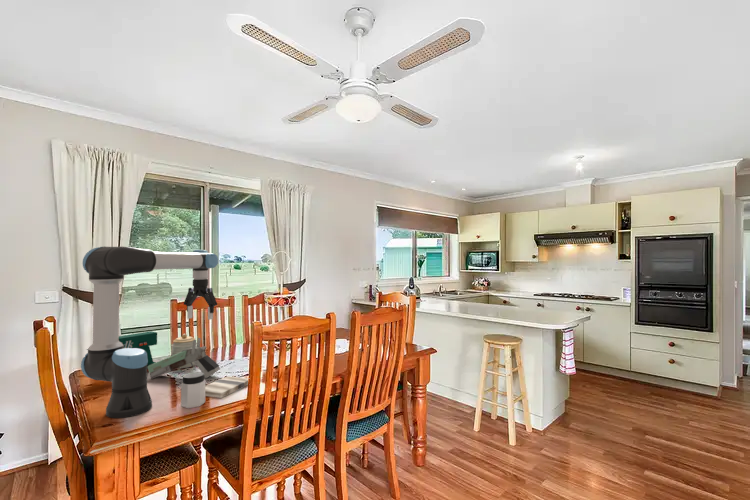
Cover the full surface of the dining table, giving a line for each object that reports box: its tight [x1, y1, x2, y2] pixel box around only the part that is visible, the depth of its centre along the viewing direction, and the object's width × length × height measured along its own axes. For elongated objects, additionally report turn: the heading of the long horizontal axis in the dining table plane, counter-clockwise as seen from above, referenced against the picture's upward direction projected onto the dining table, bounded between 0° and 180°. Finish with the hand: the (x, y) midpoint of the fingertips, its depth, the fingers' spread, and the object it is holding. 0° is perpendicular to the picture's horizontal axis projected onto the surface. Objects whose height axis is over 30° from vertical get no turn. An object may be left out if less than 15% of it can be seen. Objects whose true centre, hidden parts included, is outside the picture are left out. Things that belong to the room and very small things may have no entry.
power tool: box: [86, 330, 158, 373], centre depth 189 cm, size 32×7×20 cm, turn 148°
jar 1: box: [170, 333, 197, 369], centre depth 208 cm, size 13×13×18 cm
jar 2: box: [180, 371, 206, 409], centre depth 152 cm, size 9×8×12 cm
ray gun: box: [148, 337, 221, 380], centre depth 187 cm, size 7×32×20 cm, turn 89°
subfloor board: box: [205, 375, 249, 399], centre depth 170 cm, size 20×14×2 cm
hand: (200, 318), depth 197 cm, fingers open, 13 cm apart
